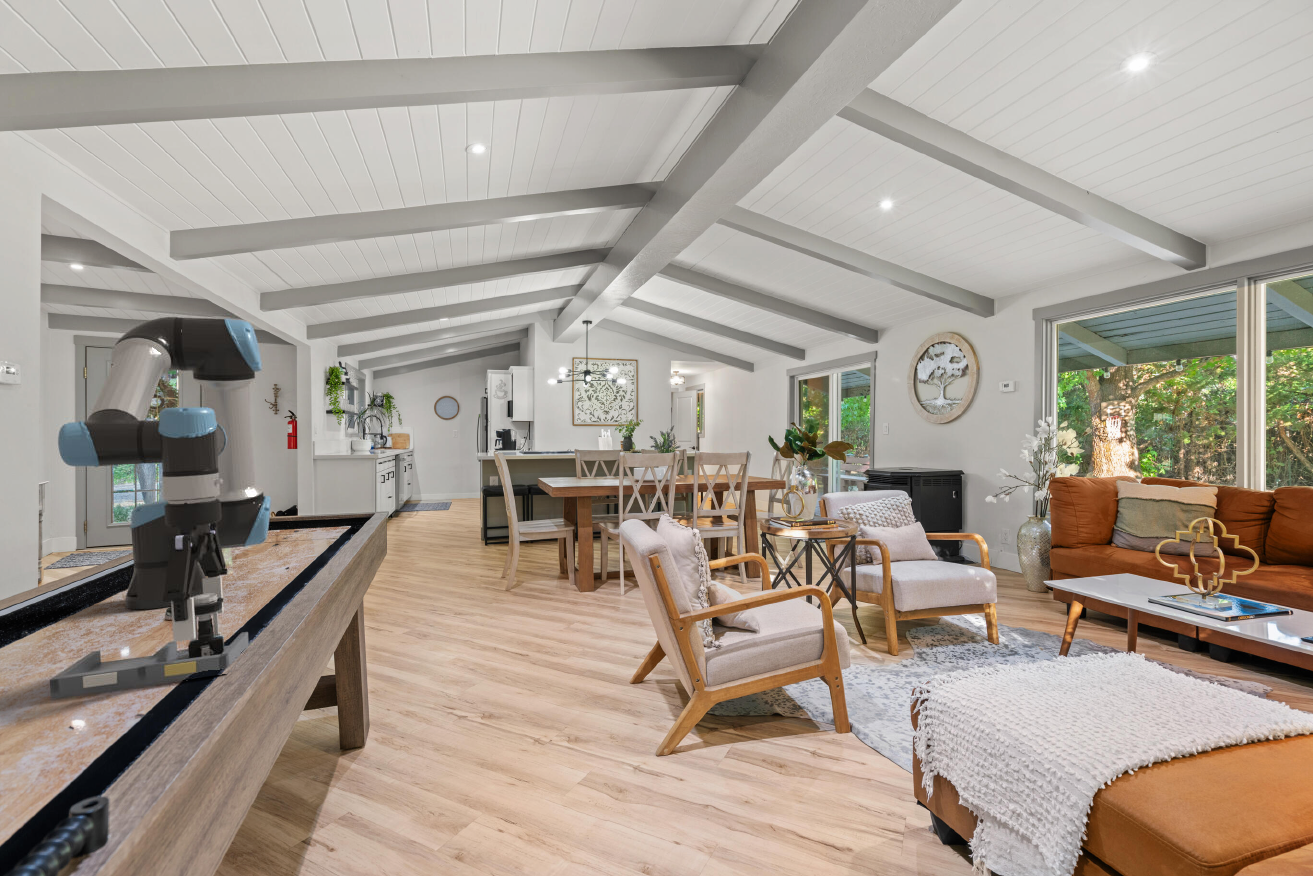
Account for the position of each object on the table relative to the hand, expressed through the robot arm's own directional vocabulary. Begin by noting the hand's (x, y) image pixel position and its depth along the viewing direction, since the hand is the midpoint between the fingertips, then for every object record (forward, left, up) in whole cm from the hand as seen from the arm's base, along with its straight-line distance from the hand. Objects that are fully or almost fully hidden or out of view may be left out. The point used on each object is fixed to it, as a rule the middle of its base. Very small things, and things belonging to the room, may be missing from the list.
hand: (200, 626), depth 103 cm
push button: (0, 0, -5) cm, 5 cm away
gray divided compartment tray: (+2, -5, -6) cm, 8 cm away
